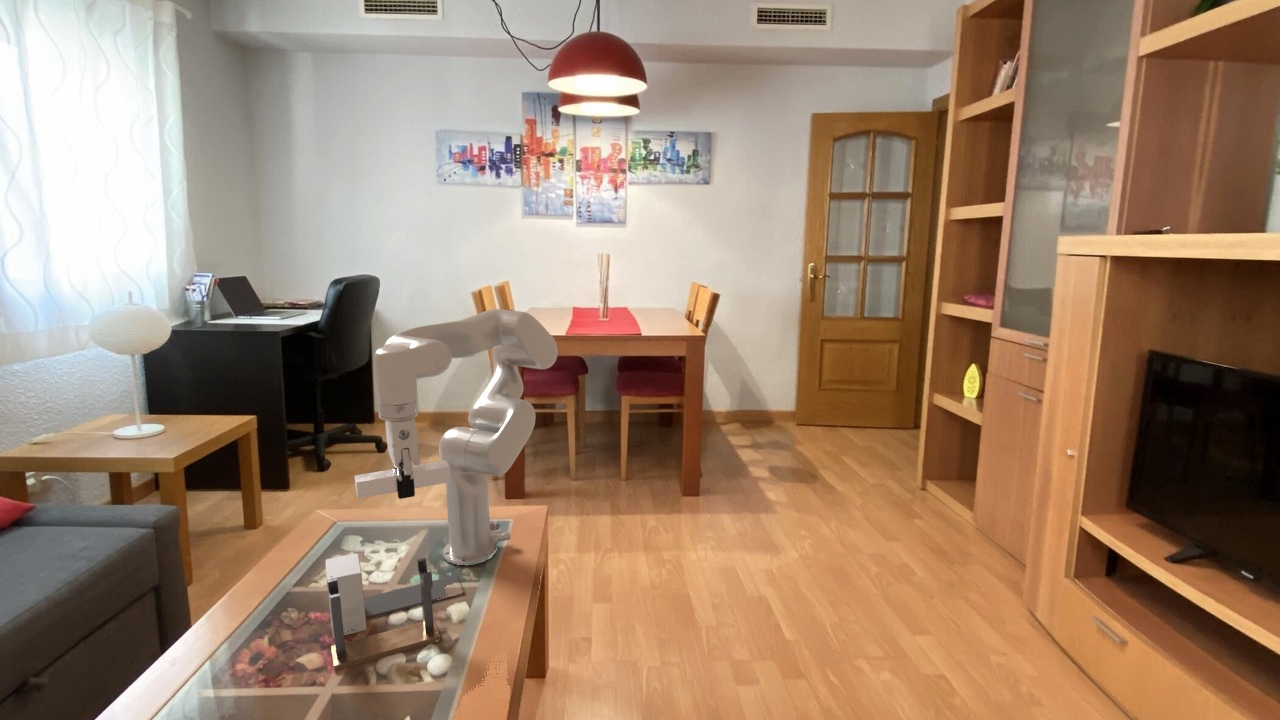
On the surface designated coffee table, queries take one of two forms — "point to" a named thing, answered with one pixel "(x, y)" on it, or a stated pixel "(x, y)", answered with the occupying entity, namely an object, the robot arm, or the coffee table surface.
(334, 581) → the rack
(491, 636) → the coffee table surface
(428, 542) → the coffee table surface
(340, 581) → the small box
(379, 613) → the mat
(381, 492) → the rail
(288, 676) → the coffee table surface
